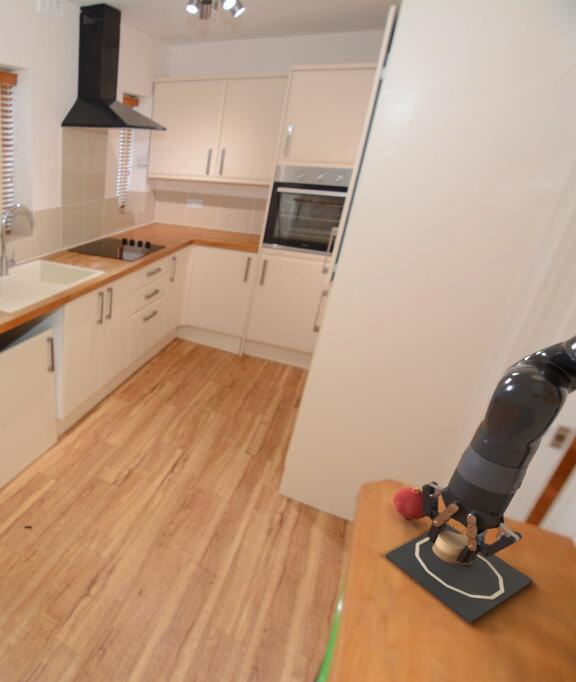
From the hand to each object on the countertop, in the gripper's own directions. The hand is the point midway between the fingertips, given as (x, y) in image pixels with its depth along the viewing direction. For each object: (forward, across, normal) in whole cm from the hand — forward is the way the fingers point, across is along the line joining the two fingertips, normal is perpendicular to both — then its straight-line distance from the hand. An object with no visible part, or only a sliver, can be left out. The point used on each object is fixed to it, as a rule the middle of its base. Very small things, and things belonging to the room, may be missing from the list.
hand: (448, 550), depth 80 cm
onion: (+5, -10, +7) cm, 13 cm away
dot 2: (+4, 0, +6) cm, 7 cm away
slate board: (+5, +1, +3) cm, 6 cm away
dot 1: (+1, 0, 0) cm, 1 cm away
